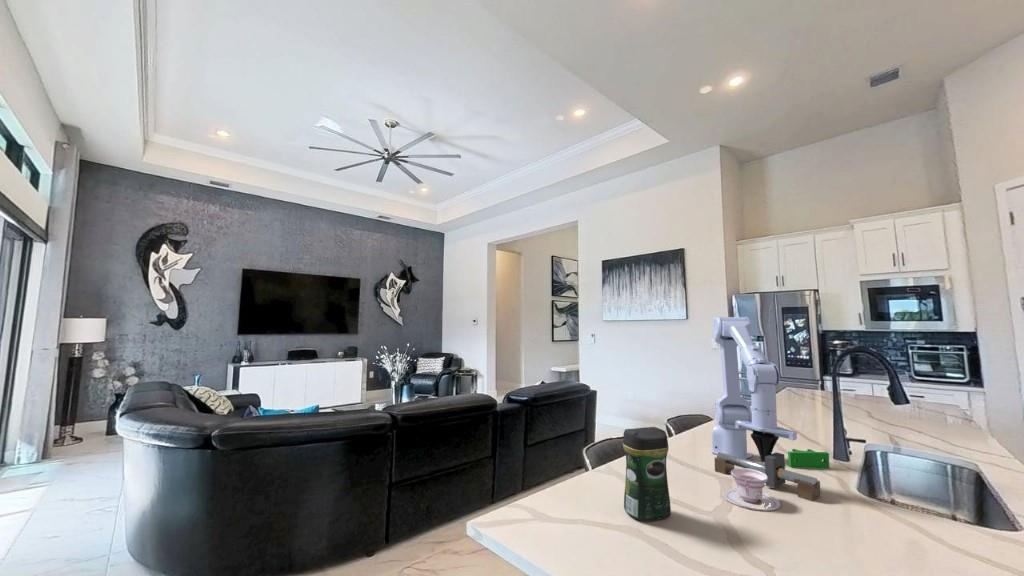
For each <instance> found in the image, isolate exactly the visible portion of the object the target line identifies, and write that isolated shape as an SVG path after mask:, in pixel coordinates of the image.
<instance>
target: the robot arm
mask: <svg viewBox="0 0 1024 576" xmlns="http://www.w3.org/2000/svg"><path fill="white" fill-rule="evenodd" d="M751 322H752V321H751V320H750V318H749V317H748V316H739V317H737V316H716V317H715V318H714V320H713V325H712V327H713V330H712V331H713V339H714V342H715V343H717V344H719V348H720V358H721V360H720V361H721V373H722V375H721V376H722V385H723V387H722V388H723V395H722V396H720V397H719V398H717V399H716V400H715V401H714V419H715V422H716V424H715V425H714V426H713V428H712V431H711V436H712V441H711V442H712V450H711V451H710V453H711V454H716V455H717V454H718V453H719V452H721V453H725V454H729V455H732V456H736V457H740V458H743V459H747V460H748V459H749V458H750V459H751V458H752V457H754V455H753V454H751V453H748V445H747V444H748V441H747V440H748V439H747V437H748V436H747V431H750V432H752V433H750V437H751V438H752V441H753V442H754V445H755V446H756V448H757V451H758V454H759V458H760V461H761V462H760V463H765V456H768V455H770V454H773V451H774V448H775V445H776V443H777V442H778V440H779V438H783V439H788V440H790V441H796V440H797V438H798V437H797V435H798V434H797V431H795V430H791V429H787V428H784V427H780V426H778V419H777V417H778V416H777V414H778V413H777V390H776V389H777V388H776V387H777V386H778V385H779V384H780V379H781V376H780V370H779V367H778V366H777V365H776V364H775V363H772V361H769V360H768V358H767V357H766V356H765V354H764V352H763V350H762V349H761V347H760V346H759V345H755V343H754V341H753V339H752V337H751V332H752V323H751ZM738 346H739V348H740V351H739V357H740V358H741V361H742V363H743V364H744V366H745V368H746V379H747V383H748V389H749V391H750V398H751V399H750V400H751V401H750V402H751V405H750V402H749V401H748V400H746V399H745V398H744V397H742V395H741V382H740V371H739V359H738V358H739V357H738Z"/></svg>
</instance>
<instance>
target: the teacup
mask: <svg viewBox="0 0 1024 576" xmlns="http://www.w3.org/2000/svg"><path fill="white" fill-rule="evenodd" d="M730 475H731V476H732V477H733V479H734V481H735V483H736V488H735V487H734V488H733V487H732V488H727V489H725V490H723V492H722V496H723V498H724V499H725V500H726V501H728V502H729V503H730V504H734V505H736V506H738V507H741V508H745V509H748V510H753V511H760V512H761V511H762V512H770V511H776V510H778V509H780V507H781V503H780V501H779V500H778V499H777V498H776V497H774V496H773V495H770V494H768V493H765V492H763V488H764V487H765V486H766V482H767V481H768V477H767V475H766V474H764V473H762V472H760V471H757V470H754V469H748V468H742V467H737V468H734V469H733V470H732V471H731V472H730ZM740 498H741V499H742V500H741V499H740ZM759 501H761V503H762V502H763V504H764V503H765V505H764V508H765V509H757V508H751V507H752V505H753V506H755V505H757V503H758V502H759ZM769 503H771V507H768V508H767V509H766V507H767V506H768V505H769Z"/></svg>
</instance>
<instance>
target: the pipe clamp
mask: <svg viewBox="0 0 1024 576" xmlns="http://www.w3.org/2000/svg"><path fill="white" fill-rule="evenodd" d="M787 465H788V467H789V468H790V467H792V468H791V469H794V468H795V469H830V454H829V452H827V451H815V450H812V449H809V448H808V449H807V450H800V449H795V448H792V451H787Z"/></svg>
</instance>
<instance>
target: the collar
mask: <svg viewBox="0 0 1024 576" xmlns="http://www.w3.org/2000/svg"><path fill="white" fill-rule="evenodd" d="M785 457H786V456H785V454H784V453H781V452H774V453H773V452H772V454H770V455H768V456H765V462H764V464H765V474H766V475H767V477H768V481H767V482H766V483H765V486H766V487H769V488H772V489H776V488H778V487H781V486H782V485H784V484H786V480H784V479H778V478H777V475H776V468H777V467H779V468H783V469H784V470H786V461H785V460H786V459H785Z"/></svg>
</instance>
